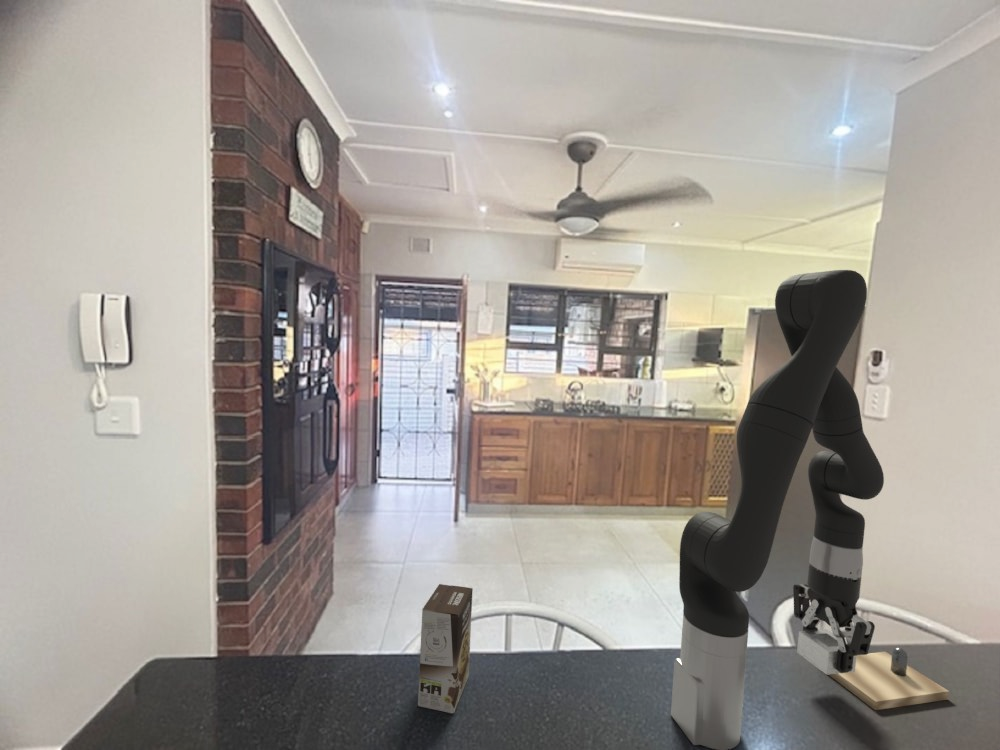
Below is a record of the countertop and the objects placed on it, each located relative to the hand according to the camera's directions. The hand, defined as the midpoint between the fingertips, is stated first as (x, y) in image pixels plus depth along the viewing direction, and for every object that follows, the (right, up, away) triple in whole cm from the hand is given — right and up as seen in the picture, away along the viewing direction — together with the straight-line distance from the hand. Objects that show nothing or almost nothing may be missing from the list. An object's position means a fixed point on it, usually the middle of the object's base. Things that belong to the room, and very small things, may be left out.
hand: (825, 658), depth 83 cm
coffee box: (-67, -3, -4) cm, 67 cm away
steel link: (0, -1, 0) cm, 1 cm away
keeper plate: (+12, -6, +3) cm, 14 cm away
